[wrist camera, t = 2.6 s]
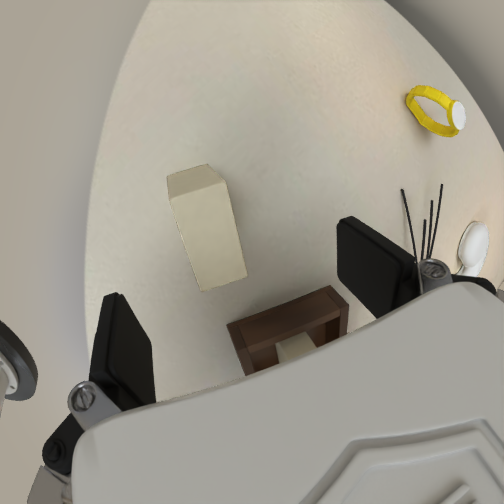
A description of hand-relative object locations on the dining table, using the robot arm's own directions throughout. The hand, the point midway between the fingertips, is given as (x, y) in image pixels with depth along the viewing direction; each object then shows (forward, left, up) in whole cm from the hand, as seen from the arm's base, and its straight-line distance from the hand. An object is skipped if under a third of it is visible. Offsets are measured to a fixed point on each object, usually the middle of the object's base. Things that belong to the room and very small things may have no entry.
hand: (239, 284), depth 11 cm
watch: (+23, +5, -11) cm, 26 cm away
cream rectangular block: (0, 0, -11) cm, 11 cm away
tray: (+5, -28, -11) cm, 30 cm away
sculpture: (+39, -20, -11) cm, 45 cm away
